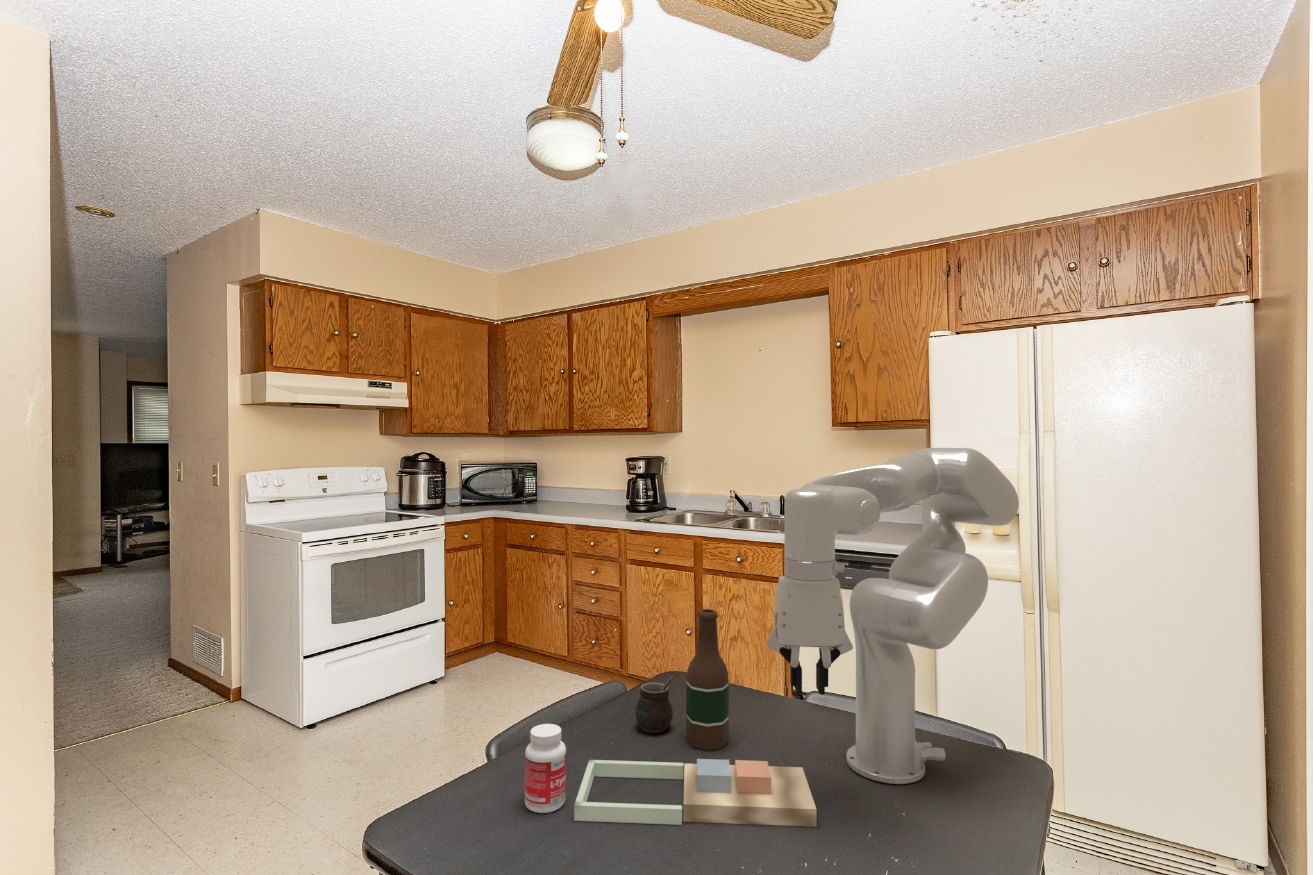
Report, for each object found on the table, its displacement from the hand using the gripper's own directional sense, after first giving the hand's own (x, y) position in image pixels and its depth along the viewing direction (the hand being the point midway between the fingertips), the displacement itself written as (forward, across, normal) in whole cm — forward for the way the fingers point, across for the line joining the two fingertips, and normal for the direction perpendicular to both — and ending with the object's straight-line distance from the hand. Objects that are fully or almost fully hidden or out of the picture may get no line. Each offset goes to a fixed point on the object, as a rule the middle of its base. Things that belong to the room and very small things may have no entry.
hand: (809, 689), depth 98 cm
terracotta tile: (+15, +8, 0) cm, 17 cm away
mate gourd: (+17, +25, -24) cm, 39 cm away
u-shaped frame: (+17, +27, 0) cm, 32 cm away
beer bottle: (+17, +15, -20) cm, 30 cm away
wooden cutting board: (+17, +10, 0) cm, 20 cm away
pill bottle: (+17, +40, +2) cm, 44 cm away
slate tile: (+15, +14, 0) cm, 21 cm away
